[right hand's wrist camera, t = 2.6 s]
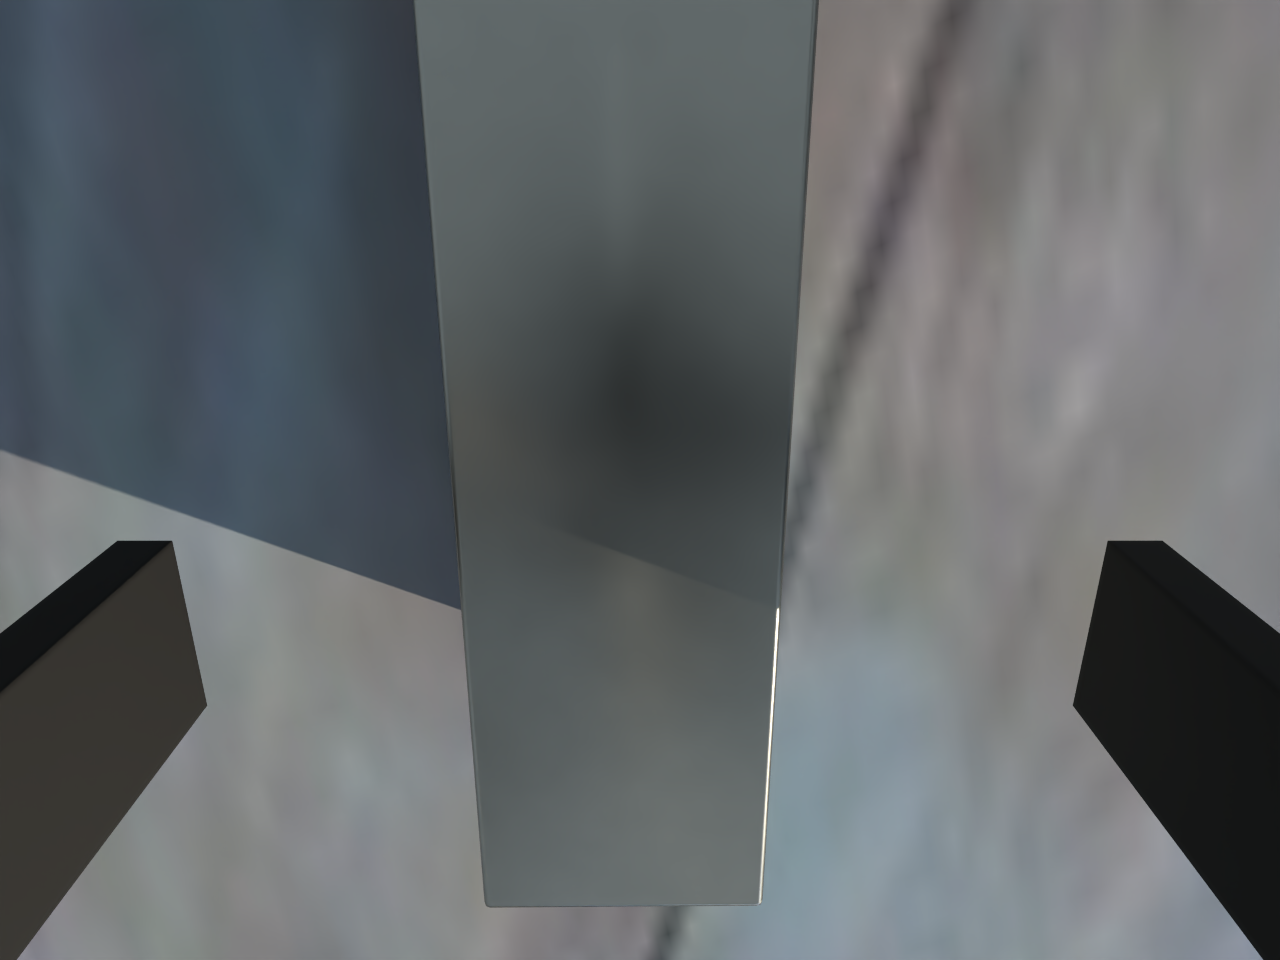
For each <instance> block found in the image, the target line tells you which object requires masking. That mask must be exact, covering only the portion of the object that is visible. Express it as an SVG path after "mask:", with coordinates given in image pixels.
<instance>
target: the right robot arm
mask: <svg viewBox="0 0 1280 960" xmlns="http://www.w3.org/2000/svg"><path fill="white" fill-rule="evenodd" d="M206 706H207V703H206V698H205V693H204V689H203V684H202V679H201V674H200V670H199V665H198V660H197V656H196V651H195V646H194V641H193V637H192V632H191V627H190V623H189V618H188V613H187V608H186V604H185V599H184V594H183V590H182V585H181V580H180V575H179V571H178V566H177V561H176V557H175V552H174V547H173V542H172V541H117V542H115V543H114V544H113V545H112V546H110V547H109V548H108V549H107V550H105V551H104V552H103V553H102V554H100V555H99V556H98V557H96V558H95V559H94V560H93V561H91V562H90V563H89V564H88V565H86V566H85V567H84V568H83V569H81V570H80V571H79V572H78V573H76V574H75V575H74V576H72V577H71V578H70V579H69V580H67V581H66V582H65V583H64V584H62V585H61V586H60V587H59V588H57V589H56V590H55V591H54V592H52V593H51V594H50V595H48V596H47V597H46V598H45V599H43V600H42V601H41V602H40V603H38V604H37V605H36V606H35V607H33V608H32V609H31V610H29V611H28V612H27V613H26V614H24V615H23V616H22V617H21V618H19V619H18V620H17V621H16V622H14V623H13V624H12V625H11V626H9V627H8V628H7V629H5V630H4V631H3V632H2V633H0V960H17V959H18V957H19V956H20V955H21V953H22V952H23V951H24V949H25V948H26V947H27V945H28V944H29V943H30V941H31V940H32V939H33V937H34V936H35V935H36V933H37V932H38V931H39V929H40V928H41V926H42V925H43V924H44V922H45V921H46V920H47V918H48V917H49V916H50V914H51V913H52V912H53V910H54V909H55V908H56V906H57V905H58V904H59V902H60V901H61V900H62V898H63V897H64V896H65V894H66V893H67V892H68V890H69V889H70V888H71V886H72V885H73V884H74V882H75V881H76V880H77V878H78V877H79V876H80V874H81V873H82V872H83V870H84V869H85V868H86V866H87V865H88V864H89V862H90V861H91V860H92V858H93V857H94V856H95V854H96V853H97V852H98V850H99V849H100V848H101V846H102V845H103V844H104V842H105V841H106V840H107V838H108V837H109V836H110V834H111V833H112V832H113V830H114V829H115V828H116V826H117V825H118V824H119V822H120V821H121V820H122V818H123V817H124V816H125V814H126V813H127V812H128V810H129V809H130V808H131V806H132V805H133V804H134V802H135V801H136V800H137V798H138V797H139V796H140V794H141V793H142V792H143V790H144V789H145V788H146V786H147V785H148V784H149V782H150V781H151V780H152V778H153V777H154V776H155V774H156V773H157V772H158V770H159V769H160V768H161V766H162V765H163V764H164V762H165V761H166V760H167V758H168V757H169V756H170V754H171V753H172V752H173V750H174V749H175V748H176V746H177V745H178V744H179V742H180V741H181V740H182V738H183V737H184V736H185V734H186V733H187V732H188V730H189V729H190V728H191V726H192V725H193V724H194V722H195V721H196V720H197V718H198V717H199V716H200V714H201V713H202V712H203V710H204V709H205V708H206ZM1073 706H1074V708H1075V709H1076V710H1077V712H1078V713H1079V714H1080V716H1081V717H1082V718H1083V720H1084V721H1085V722H1086V724H1087V725H1088V726H1089V728H1090V729H1091V730H1092V732H1093V733H1094V734H1095V736H1096V737H1097V738H1098V740H1099V741H1100V742H1101V744H1102V745H1103V746H1104V748H1105V749H1106V750H1107V752H1108V753H1109V754H1110V756H1111V757H1112V758H1113V760H1114V761H1115V762H1116V764H1117V765H1118V766H1119V768H1120V769H1121V770H1122V772H1123V773H1124V774H1125V776H1126V777H1127V778H1128V780H1129V781H1130V782H1131V784H1132V785H1133V786H1134V788H1135V789H1136V790H1137V792H1138V793H1139V794H1140V796H1141V797H1142V798H1143V800H1144V801H1145V802H1146V804H1147V805H1148V806H1149V808H1150V809H1151V810H1152V812H1153V813H1154V814H1155V816H1156V817H1157V818H1158V820H1159V821H1160V822H1161V824H1162V825H1163V826H1164V828H1165V829H1166V830H1167V832H1168V833H1169V834H1170V836H1171V837H1172V838H1173V840H1174V841H1175V842H1176V844H1177V845H1178V846H1179V848H1180V849H1181V850H1182V852H1183V853H1184V854H1185V856H1186V857H1187V858H1188V860H1189V861H1190V862H1191V864H1192V865H1193V866H1194V868H1195V869H1196V870H1197V872H1198V873H1199V874H1200V876H1201V877H1202V878H1203V880H1204V881H1205V882H1206V884H1207V885H1208V886H1209V888H1210V889H1211V890H1212V892H1213V893H1214V894H1215V896H1216V897H1217V898H1218V900H1219V901H1220V902H1221V904H1222V905H1223V906H1224V908H1225V909H1226V910H1227V912H1228V913H1229V914H1230V916H1231V917H1232V918H1233V920H1234V921H1235V922H1236V924H1237V925H1238V926H1239V928H1240V929H1241V931H1242V932H1243V933H1244V935H1245V936H1246V937H1247V939H1248V940H1249V941H1250V943H1251V944H1252V945H1253V947H1254V948H1255V949H1256V951H1257V952H1258V953H1259V955H1260V956H1261V957H1262V959H1263V960H1280V633H1278V632H1277V631H1276V630H1275V629H1273V628H1272V627H1271V626H1269V625H1268V624H1267V623H1266V622H1264V621H1263V620H1262V619H1261V618H1259V617H1258V616H1257V615H1256V614H1254V613H1253V612H1252V611H1251V610H1249V609H1248V608H1247V607H1245V606H1244V605H1243V604H1242V603H1240V602H1239V601H1238V600H1237V599H1235V598H1234V597H1233V596H1232V595H1230V594H1229V593H1228V592H1226V591H1225V590H1224V589H1223V588H1221V587H1220V586H1219V585H1218V584H1216V583H1215V582H1214V581H1213V580H1211V579H1210V578H1209V577H1208V576H1206V575H1205V574H1204V573H1202V572H1201V571H1200V570H1199V569H1197V568H1196V567H1195V566H1194V565H1192V564H1191V563H1190V562H1189V561H1187V560H1186V559H1185V558H1184V557H1182V556H1181V555H1180V554H1178V553H1177V552H1176V551H1175V550H1173V549H1172V548H1171V547H1170V546H1168V545H1167V544H1166V543H1165V542H1163V541H1108V542H1107V547H1106V552H1105V557H1104V561H1103V566H1102V571H1101V575H1100V580H1099V585H1098V590H1097V594H1096V599H1095V604H1094V608H1093V613H1092V618H1091V623H1090V627H1089V632H1088V637H1087V641H1086V646H1085V651H1084V656H1083V660H1082V665H1081V670H1080V674H1079V679H1078V684H1077V689H1076V693H1075V698H1074V703H1073Z"/></svg>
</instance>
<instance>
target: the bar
mask: <svg viewBox="0 0 1280 960" xmlns="http://www.w3.org/2000/svg"><path fill="white" fill-rule="evenodd" d="M818 5H819V0H413V11H414V24H415V36H416V49H417V62H418V74H419V87H420V99H421V112H422V124H423V137H424V149H425V162H426V174H427V187H428V199H429V212H430V224H431V237H432V249H433V262H434V274H435V287H436V299H437V312H438V324H439V337H440V349H441V362H442V374H443V387H444V400H445V412H446V425H447V437H448V450H449V462H450V475H451V487H452V500H453V512H454V525H455V537H456V550H457V562H458V575H459V587H460V600H461V612H462V625H463V637H464V650H465V662H466V675H467V687H468V700H469V712H470V725H471V738H472V750H473V763H474V775H475V788H476V800H477V813H478V825H479V838H480V850H481V863H482V875H483V888H484V900H485V904H486V906H487V907H613V906H753V905H760V904H761V902H762V898H763V882H764V866H765V850H766V834H767V818H768V802H769V786H770V770H771V754H772V738H773V722H774V706H775V690H776V675H777V659H778V643H779V627H780V611H781V595H782V579H783V563H784V547H785V531H786V515H787V499H788V483H789V467H790V451H791V435H792V419H793V403H794V387H795V371H796V356H797V340H798V324H799V308H800V292H801V276H802V260H803V244H804V228H805V212H806V196H807V180H808V164H809V148H810V132H811V116H812V100H813V84H814V68H815V53H816V37H817V21H818Z"/></svg>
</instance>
